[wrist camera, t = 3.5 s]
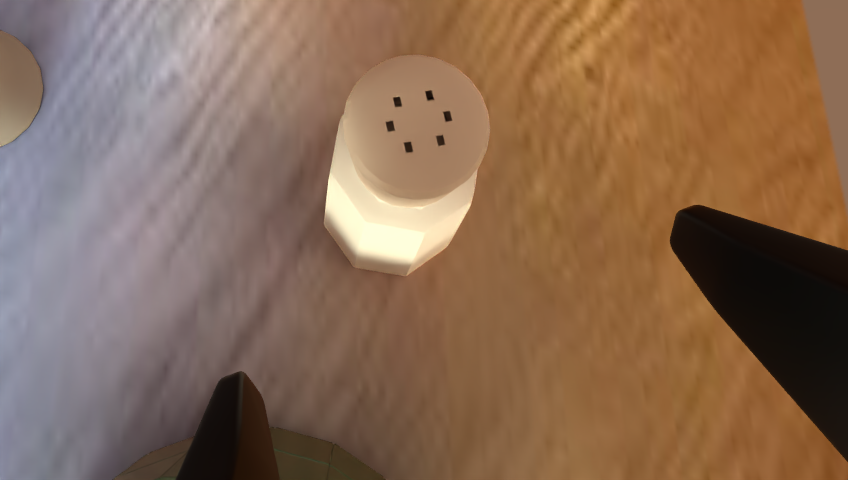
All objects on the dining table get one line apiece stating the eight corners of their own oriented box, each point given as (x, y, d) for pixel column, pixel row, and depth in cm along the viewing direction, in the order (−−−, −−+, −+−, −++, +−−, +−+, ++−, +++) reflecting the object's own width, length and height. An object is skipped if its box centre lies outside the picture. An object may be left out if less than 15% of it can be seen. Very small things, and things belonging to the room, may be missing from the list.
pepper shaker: (440, 134, 21) (521, -37, 10) (470, 261, 20) (591, 232, 9) (309, 159, 20) (240, 5, 9) (338, 292, 19) (302, 298, 9)
